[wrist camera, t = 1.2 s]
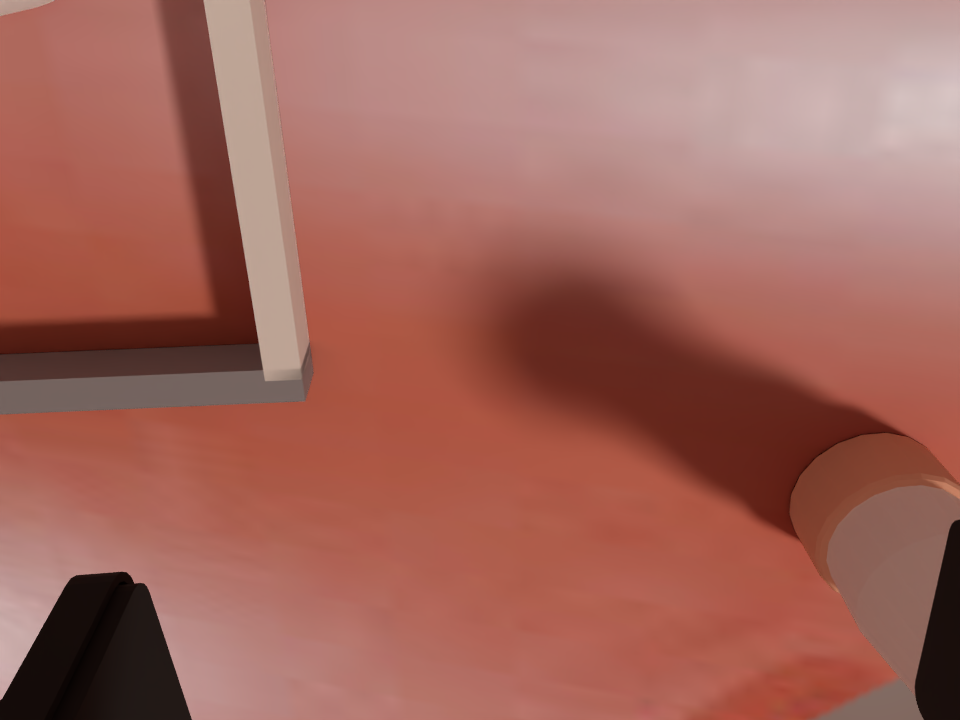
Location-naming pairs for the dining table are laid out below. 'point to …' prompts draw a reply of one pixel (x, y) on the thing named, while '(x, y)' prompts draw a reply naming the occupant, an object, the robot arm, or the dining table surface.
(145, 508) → the dining table surface
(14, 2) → the cup
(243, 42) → the cup pocket
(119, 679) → the robot arm
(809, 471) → the pepper shaker
